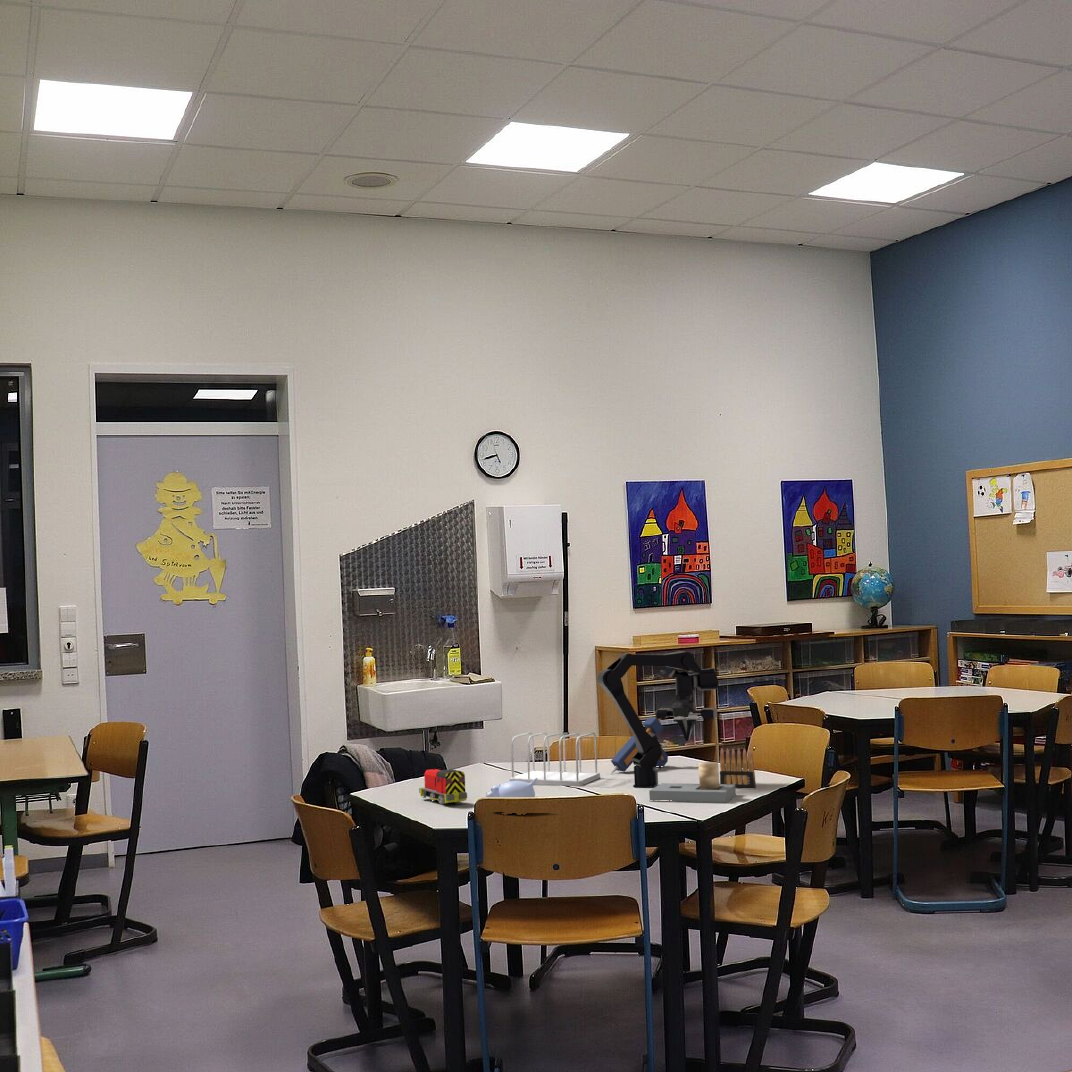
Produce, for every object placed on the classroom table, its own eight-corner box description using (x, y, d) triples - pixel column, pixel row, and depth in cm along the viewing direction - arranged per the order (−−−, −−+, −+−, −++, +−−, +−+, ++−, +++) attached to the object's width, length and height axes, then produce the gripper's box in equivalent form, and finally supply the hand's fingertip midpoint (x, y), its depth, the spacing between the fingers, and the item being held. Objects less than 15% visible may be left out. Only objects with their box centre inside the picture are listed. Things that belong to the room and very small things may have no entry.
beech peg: (698, 799, 336) (696, 764, 336) (702, 796, 341) (701, 761, 342) (717, 800, 334) (715, 764, 334) (722, 797, 339) (720, 762, 340)
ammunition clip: (720, 787, 356) (718, 748, 357) (721, 787, 357) (719, 747, 358) (754, 788, 351) (752, 748, 352) (756, 787, 353) (754, 747, 354)
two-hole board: (649, 801, 337) (649, 790, 337) (662, 793, 350) (662, 783, 350) (725, 802, 329) (724, 792, 329) (735, 794, 342) (735, 784, 342)
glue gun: (625, 801, 399) (603, 768, 394) (671, 740, 416) (651, 708, 412) (638, 802, 394) (616, 769, 390) (684, 740, 412) (663, 708, 407)
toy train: (447, 807, 340) (446, 773, 341) (418, 799, 356) (417, 766, 357) (468, 805, 344) (466, 770, 344) (439, 797, 360) (437, 764, 361)
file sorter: (509, 784, 381) (507, 736, 382) (532, 776, 397) (530, 730, 397) (579, 786, 370) (577, 737, 371) (600, 778, 386) (598, 731, 387)
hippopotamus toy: (492, 808, 335) (491, 775, 336) (543, 809, 331) (542, 775, 332) (481, 815, 325) (480, 780, 325) (533, 816, 321) (532, 780, 321)
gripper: (649, 693, 366) (651, 744, 365) (708, 693, 359) (710, 744, 358) (659, 690, 376) (661, 739, 375) (716, 690, 369) (718, 740, 368)
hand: (687, 741), depth 369 cm, fingers closed
